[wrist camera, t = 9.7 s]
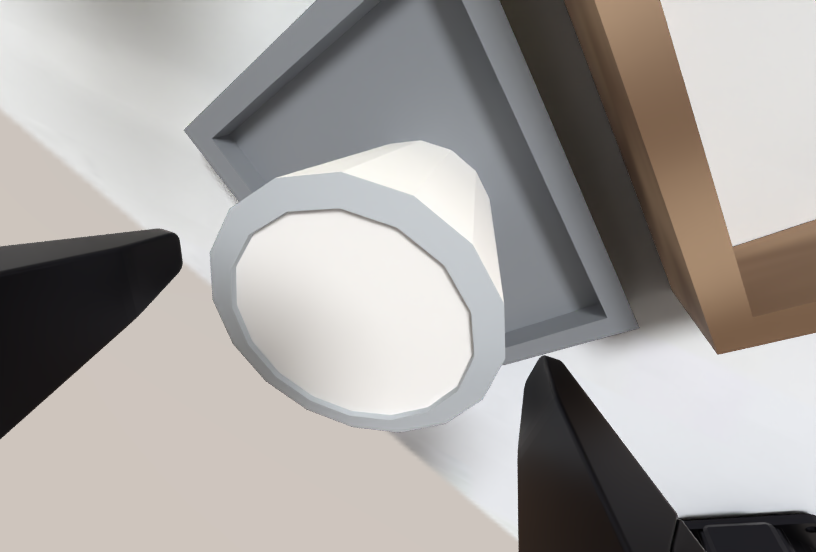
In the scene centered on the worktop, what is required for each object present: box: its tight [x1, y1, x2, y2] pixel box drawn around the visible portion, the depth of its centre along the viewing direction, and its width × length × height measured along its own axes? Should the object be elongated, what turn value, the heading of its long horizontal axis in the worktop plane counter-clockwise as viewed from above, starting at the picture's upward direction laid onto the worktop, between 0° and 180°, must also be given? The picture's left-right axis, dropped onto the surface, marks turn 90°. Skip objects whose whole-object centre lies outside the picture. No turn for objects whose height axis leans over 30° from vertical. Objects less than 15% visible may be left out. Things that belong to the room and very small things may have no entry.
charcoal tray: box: [184, 0, 639, 366], centre depth 14 cm, size 14×11×2 cm
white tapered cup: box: [210, 140, 505, 432], centre depth 11 cm, size 7×7×7 cm
